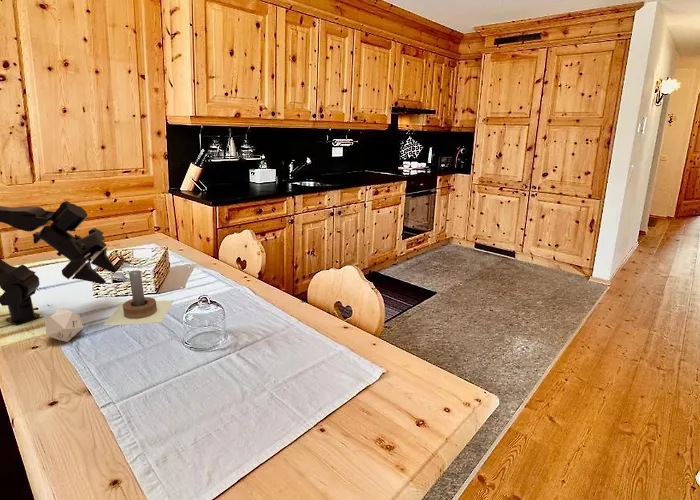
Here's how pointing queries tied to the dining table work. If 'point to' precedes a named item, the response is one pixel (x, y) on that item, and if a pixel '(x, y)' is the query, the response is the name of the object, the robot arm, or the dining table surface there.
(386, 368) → the dining table surface
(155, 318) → the mat
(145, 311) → the bead
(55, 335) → the die
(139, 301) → the grey rounded peg
